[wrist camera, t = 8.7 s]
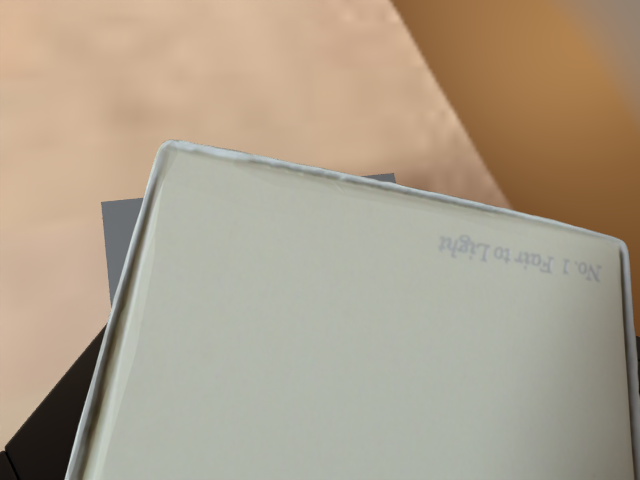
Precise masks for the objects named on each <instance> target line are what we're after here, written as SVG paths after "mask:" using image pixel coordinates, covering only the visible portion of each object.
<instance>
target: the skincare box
mask: <svg viewBox="0 0 640 480" xmlns="http://www.w3.org/2000/svg"><path fill="white" fill-rule="evenodd" d="M65 480H640V396H639V381H638V360H637V348H636V336H635V330H634V319H633V302H632V288H631V276H630V258H629V253H628V248H627V246H626V244H625V243H624V242H623V241H622V240H621V239H618V238H615V237H613V236H609V235H605V234H602V233H598V232H594V231H591V230H588V229H585V228H581V227H576V226H572V225H569V224H566V223H562V222H559V221H555V220H552V219H547V218H543V217H539V216H534V215H530V214H525V213H522V212H518V211H514V210H510V209H506V208H501V207H496V206H492V205H488V204H483V203H479V202H475V201H471V200H467V199H463V198H458V197H454V196H450V195H446V194H442V193H436V192H430V191H424V190H420V189H415V188H411V187H406V186H402V185H398V184H395V183H392V182H384V181H379V180H376V179H371V178H365V177H360V176H356V175H351V174H346V173H342V172H337V171H333V170H329V169H325V168H320V167H314V166H308V165H302V164H297V163H292V162H287V161H283V160H279V159H274V158H270V157H265V156H259V155H253V154H249V153H245V152H241V151H237V150H231V149H225V148H219V147H214V146H209V145H202V144H195V143H191V142H187V141H181V140H168V141H165V142H163V143H162V144H161V146H160V148H159V149H158V151H157V153H156V157H155V160H154V163H153V166H152V170H151V173H150V177H149V180H148V184H147V188H146V191H145V195H144V199H143V203H142V206H141V210H140V213H139V216H138V219H137V222H136V225H135V228H134V231H133V235H132V238H131V242H130V246H129V249H128V253H127V256H126V260H125V263H124V267H123V270H122V274H121V277H120V281H119V284H118V287H117V290H116V293H115V296H114V301H113V305H112V309H111V313H110V317H109V320H108V323H107V327H106V330H105V334H104V337H103V341H102V345H101V348H100V352H99V356H98V359H97V363H96V367H95V370H94V374H93V377H92V381H91V384H90V388H89V391H88V395H87V398H86V402H85V405H84V409H83V412H82V415H81V419H80V422H79V426H78V430H77V433H76V437H75V441H74V445H73V449H72V453H71V457H70V461H69V465H68V469H67V473H66V477H65Z"/></svg>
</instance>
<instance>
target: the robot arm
mask: <svg viewBox="0 0 640 480" xmlns="http://www.w3.org/2000/svg"><path fill="white" fill-rule="evenodd" d="M106 327H107V324H106V325H105V327H104V328H103V329H102V330H101V331H100V333H99V334H98V335H97V336H96V337H95V339H94V340H93V341H92V342H91V343H90V345H89V346H88V347H87V348H86V349H85V351H84V352H83V353H82V354H81V355H80V357H79V358H78V359H77V360H76V361H75V363H74V364H73V365H72V366H71V367H70V369H69V370H68V371H67V372H66V374H65V375H64V376H63V377H62V378H61V380H60V381H59V382H58V383H57V384H56V386H55V387H54V388H53V389H52V390H51V392H50V393H49V394H48V395H47V396H46V398H45V399H44V400H43V401H42V402H41V404H40V405H39V406H38V407H37V408H36V410H35V411H34V412H33V413H32V414H31V416H30V417H29V418H28V419H27V420H26V422H25V423H24V424H23V425H22V426H21V428H20V429H19V430H18V431H17V433H16V434H15V435H14V436H13V437H12V439H11V440H10V441H9V442H8V443H7V445H6V446H5V451H1V452H0V480H65V477H66V473H67V469H68V465H69V461H70V457H71V453H72V449H73V445H74V441H75V437H76V433H77V430H78V426H79V422H80V419H81V415H82V412H83V409H84V405H85V402H86V398H87V395H88V391H89V388H90V384H91V381H92V377H93V374H94V370H95V367H96V363H97V359H98V356H99V352H100V348H101V345H102V341H103V337H104V334H105V330H106ZM636 348H637V360H638V381H639V396H640V337H638V336H636Z"/></svg>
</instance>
